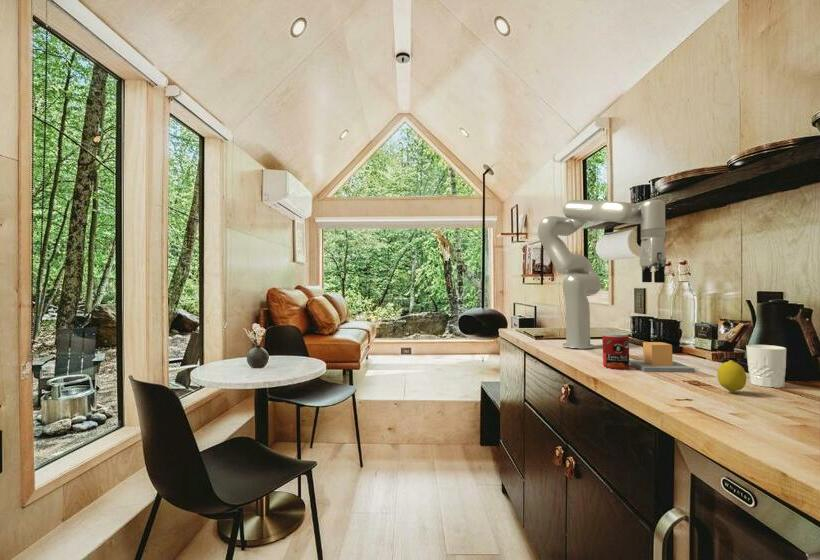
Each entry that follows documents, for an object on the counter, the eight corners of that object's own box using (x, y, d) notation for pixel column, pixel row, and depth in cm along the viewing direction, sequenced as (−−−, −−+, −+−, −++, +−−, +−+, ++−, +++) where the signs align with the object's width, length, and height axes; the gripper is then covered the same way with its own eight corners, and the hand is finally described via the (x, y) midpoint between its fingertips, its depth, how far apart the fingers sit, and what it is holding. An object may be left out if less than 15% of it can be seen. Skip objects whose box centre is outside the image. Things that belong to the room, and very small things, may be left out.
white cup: (794, 386, 102) (793, 347, 102) (776, 390, 99) (775, 350, 99) (758, 380, 110) (757, 343, 110) (740, 383, 107) (739, 345, 107)
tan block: (643, 361, 131) (642, 342, 131) (662, 362, 130) (662, 342, 130) (652, 365, 125) (651, 344, 125) (672, 365, 124) (672, 344, 124)
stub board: (626, 363, 135) (626, 345, 135) (671, 363, 133) (670, 345, 133) (644, 371, 122) (644, 352, 122) (693, 372, 120) (693, 352, 120)
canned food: (605, 369, 126) (604, 334, 126) (601, 364, 134) (600, 331, 134) (632, 370, 124) (631, 335, 124) (626, 365, 131) (625, 332, 132)
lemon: (752, 396, 94) (751, 362, 94) (725, 395, 95) (724, 362, 95) (738, 390, 99) (737, 358, 100) (713, 389, 101) (712, 358, 101)
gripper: (631, 237, 152) (632, 282, 152) (652, 232, 135) (652, 282, 135) (653, 237, 151) (653, 282, 151) (676, 232, 134) (676, 282, 134)
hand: (653, 282), depth 143 cm, fingers open, 9 cm apart
